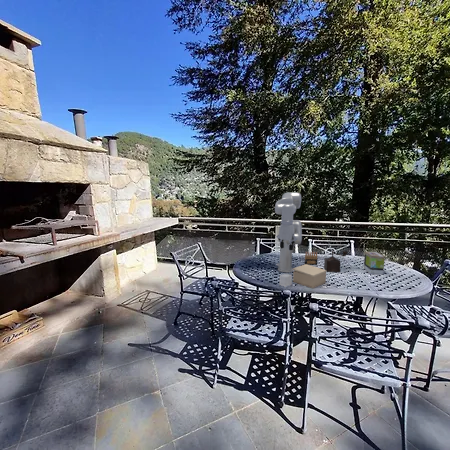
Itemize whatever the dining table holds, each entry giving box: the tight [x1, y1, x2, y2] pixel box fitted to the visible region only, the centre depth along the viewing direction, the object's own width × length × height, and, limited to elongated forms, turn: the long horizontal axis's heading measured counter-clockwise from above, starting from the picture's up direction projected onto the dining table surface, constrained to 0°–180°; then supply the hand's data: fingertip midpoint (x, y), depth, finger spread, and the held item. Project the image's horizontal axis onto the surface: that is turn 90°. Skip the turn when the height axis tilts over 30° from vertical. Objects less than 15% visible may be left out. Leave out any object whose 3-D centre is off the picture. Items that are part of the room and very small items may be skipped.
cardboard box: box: [292, 270, 327, 289], centre depth 177 cm, size 16×16×8 cm
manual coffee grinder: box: [323, 250, 349, 273], centre depth 203 cm, size 16×11×18 cm
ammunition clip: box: [304, 251, 318, 266], centre depth 220 cm, size 11×2×12 cm, turn 83°
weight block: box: [278, 273, 293, 288], centre depth 173 cm, size 5×7×7 cm
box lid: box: [292, 263, 327, 277], centre depth 177 cm, size 16×17×1 cm
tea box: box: [363, 251, 386, 276], centre depth 200 cm, size 15×10×15 cm, turn 168°
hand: (286, 248), depth 170 cm, fingers open, 6 cm apart
